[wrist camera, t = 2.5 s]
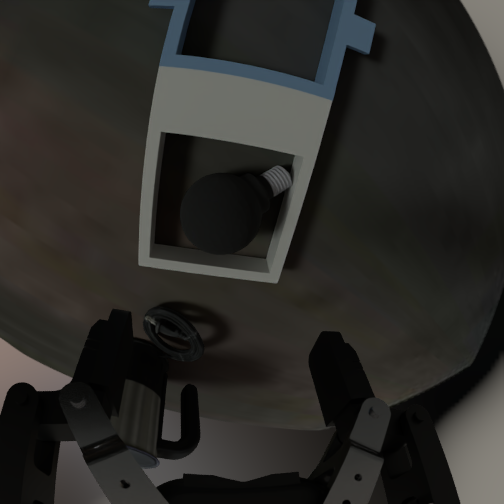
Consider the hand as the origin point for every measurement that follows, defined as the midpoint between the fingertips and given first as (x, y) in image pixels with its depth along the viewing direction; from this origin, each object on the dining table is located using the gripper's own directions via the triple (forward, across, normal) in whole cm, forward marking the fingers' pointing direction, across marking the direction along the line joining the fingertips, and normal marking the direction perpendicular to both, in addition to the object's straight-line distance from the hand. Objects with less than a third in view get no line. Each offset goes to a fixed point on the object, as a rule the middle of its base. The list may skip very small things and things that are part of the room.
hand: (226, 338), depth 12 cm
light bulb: (+16, -1, -1) cm, 16 cm away
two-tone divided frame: (+16, 0, -8) cm, 18 cm away
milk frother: (+16, +6, +20) cm, 27 cm away
